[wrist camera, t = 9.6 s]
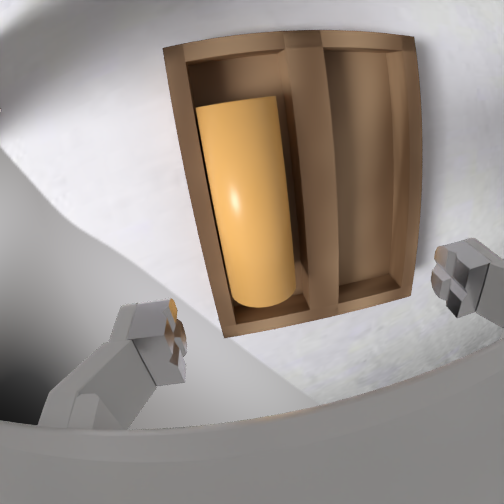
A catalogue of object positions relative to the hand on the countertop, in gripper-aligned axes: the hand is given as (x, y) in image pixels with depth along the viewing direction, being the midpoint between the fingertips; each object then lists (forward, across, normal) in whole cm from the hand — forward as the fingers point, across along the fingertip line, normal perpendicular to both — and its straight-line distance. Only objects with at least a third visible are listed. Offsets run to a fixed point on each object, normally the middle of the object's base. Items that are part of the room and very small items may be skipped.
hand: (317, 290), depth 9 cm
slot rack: (+12, -3, 0) cm, 13 cm away
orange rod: (+11, +1, 0) cm, 11 cm away
